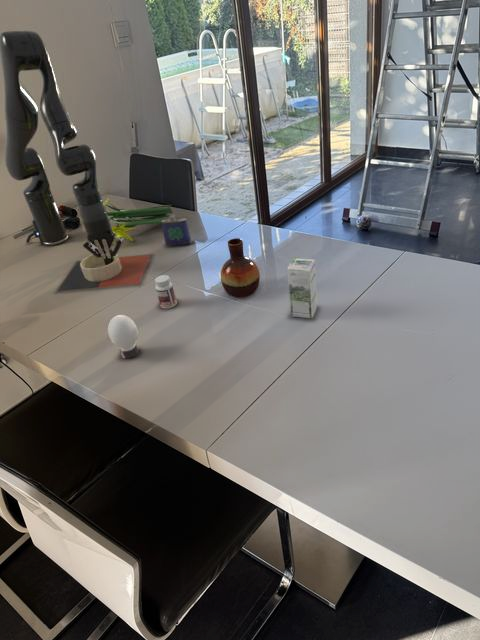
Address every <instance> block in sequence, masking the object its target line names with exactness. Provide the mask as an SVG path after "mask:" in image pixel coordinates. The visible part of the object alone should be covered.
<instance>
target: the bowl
mask: <svg viewBox="0 0 480 640" xmlns="http://www.w3.org/2000/svg"><path fill="white" fill-rule="evenodd" d="M113 257H114V260H115V261H113V262H112V263H111V264H108V265H105V262H104V259H103V258H101V257H99V258H97V257H96V256H95V255H93V254H92V253H91V254H90V255H88V256H86V257H84V258H83V259H81V260H80V261H81V263H80V266H81V269H82V272H83V274H84V277H85V278H86V279H87V280H89V281H94V282H97V281H104V280H108V279H111V278H113V277H115V276H116V275H118V274H119V273H120V272H121V270H122V267H121V263H120V260H119V258H120V257H119V255H118V253H117V254H116V256H113Z"/></svg>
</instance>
